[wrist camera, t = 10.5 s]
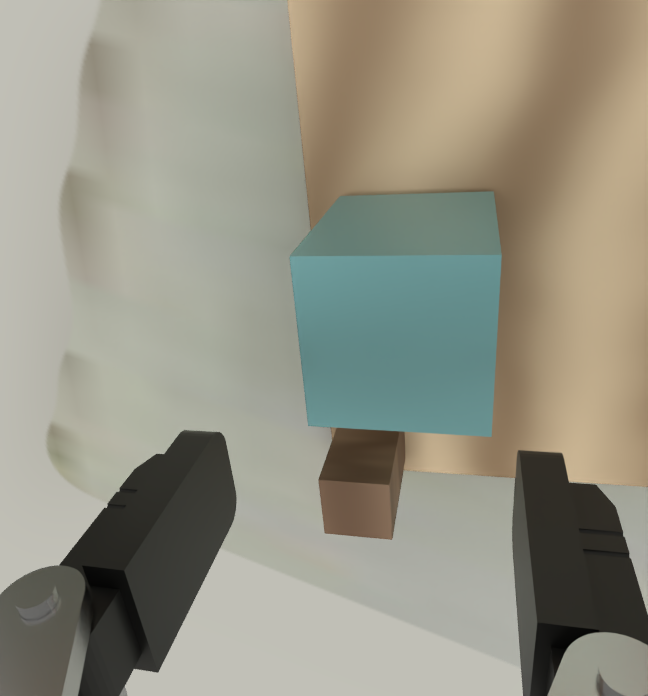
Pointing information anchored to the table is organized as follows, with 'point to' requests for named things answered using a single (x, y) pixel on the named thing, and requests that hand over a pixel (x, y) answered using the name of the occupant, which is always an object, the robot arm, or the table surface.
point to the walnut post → (362, 482)
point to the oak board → (508, 195)
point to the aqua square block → (400, 313)
